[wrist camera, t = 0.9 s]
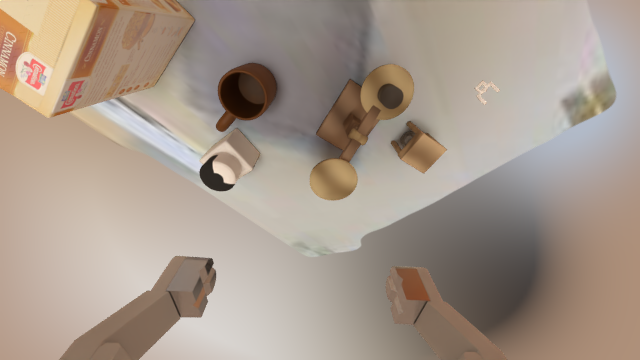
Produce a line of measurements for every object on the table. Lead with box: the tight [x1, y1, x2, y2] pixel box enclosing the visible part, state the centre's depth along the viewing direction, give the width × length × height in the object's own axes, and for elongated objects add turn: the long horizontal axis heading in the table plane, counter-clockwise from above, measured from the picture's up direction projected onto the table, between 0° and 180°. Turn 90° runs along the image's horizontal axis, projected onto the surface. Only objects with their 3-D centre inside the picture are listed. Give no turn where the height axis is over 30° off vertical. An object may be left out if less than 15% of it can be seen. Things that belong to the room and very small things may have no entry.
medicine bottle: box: [200, 128, 260, 191], centre depth 44 cm, size 7×7×12 cm
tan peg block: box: [391, 121, 447, 173], centre depth 45 cm, size 6×6×8 cm
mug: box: [216, 63, 277, 132], centre depth 39 cm, size 12×8×9 cm, turn 137°
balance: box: [310, 64, 414, 200], centre depth 40 cm, size 23×9×13 cm, turn 149°
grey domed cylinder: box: [401, 131, 415, 147], centre depth 46 cm, size 4×4×4 cm
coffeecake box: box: [0, 0, 195, 118], centre depth 30 cm, size 15×7×20 cm, turn 134°
